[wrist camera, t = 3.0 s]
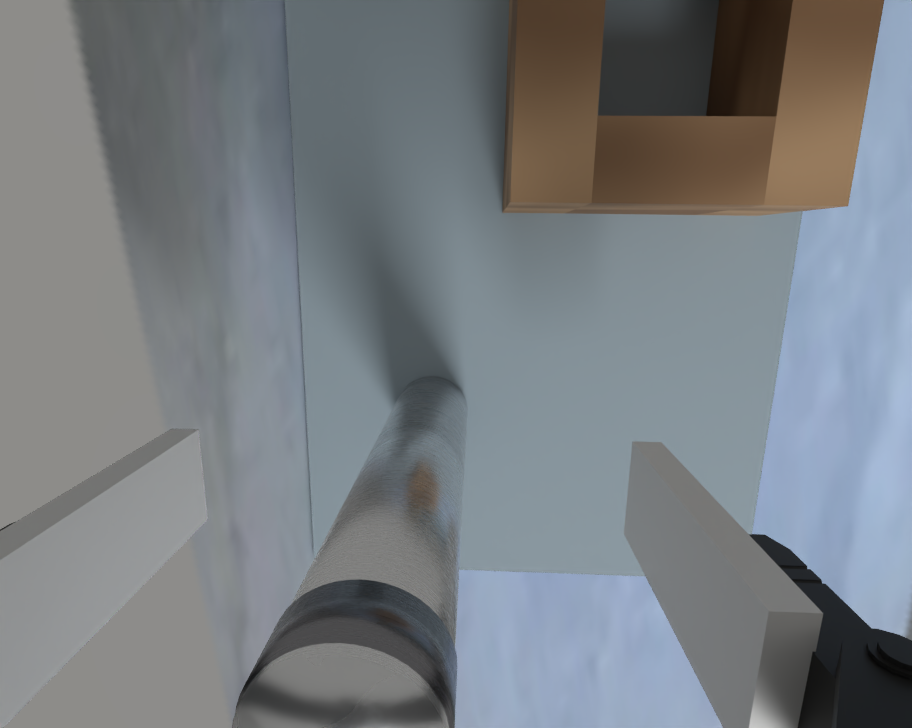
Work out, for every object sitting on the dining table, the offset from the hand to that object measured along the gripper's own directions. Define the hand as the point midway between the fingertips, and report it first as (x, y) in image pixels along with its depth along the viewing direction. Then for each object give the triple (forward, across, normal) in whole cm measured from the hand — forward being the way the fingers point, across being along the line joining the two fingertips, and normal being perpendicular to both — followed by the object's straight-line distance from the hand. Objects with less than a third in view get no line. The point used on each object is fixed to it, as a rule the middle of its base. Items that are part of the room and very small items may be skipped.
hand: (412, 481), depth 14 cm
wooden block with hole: (+6, -7, -12) cm, 15 cm away
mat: (+7, -4, -6) cm, 10 cm away
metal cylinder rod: (+6, 0, 0) cm, 6 cm away
